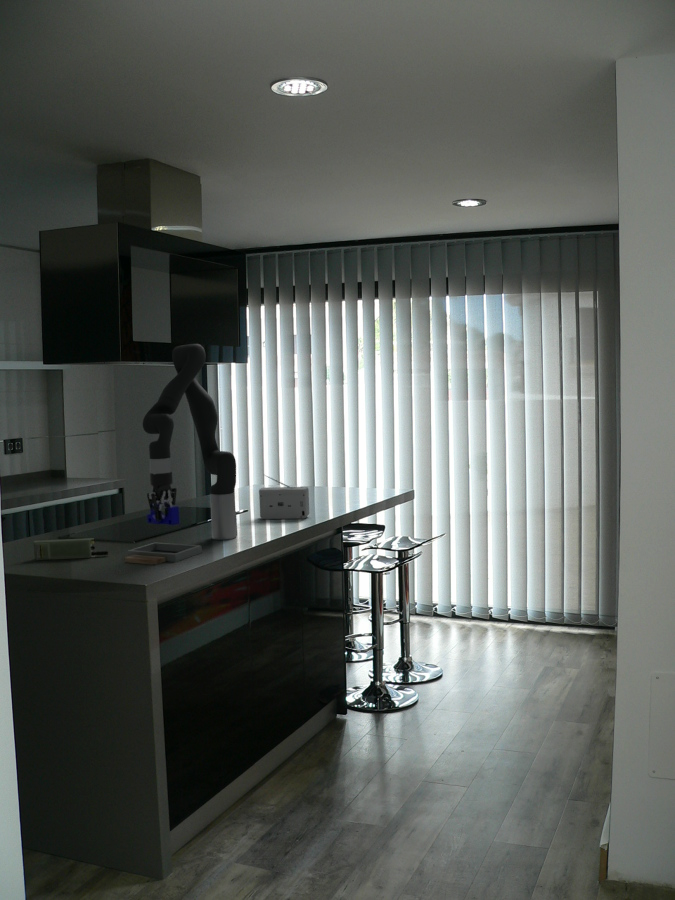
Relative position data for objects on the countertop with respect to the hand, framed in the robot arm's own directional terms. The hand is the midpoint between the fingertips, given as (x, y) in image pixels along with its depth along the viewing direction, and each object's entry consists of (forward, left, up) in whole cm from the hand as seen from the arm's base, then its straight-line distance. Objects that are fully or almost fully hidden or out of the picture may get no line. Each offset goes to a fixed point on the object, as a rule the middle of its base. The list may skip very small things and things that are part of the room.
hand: (163, 519), depth 296 cm
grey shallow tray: (0, 0, -13) cm, 13 cm away
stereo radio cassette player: (-79, +3, -13) cm, 80 cm away
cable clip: (0, 0, -1) cm, 1 cm away
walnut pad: (+11, 0, -13) cm, 17 cm away
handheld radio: (+14, -30, -13) cm, 35 cm away
